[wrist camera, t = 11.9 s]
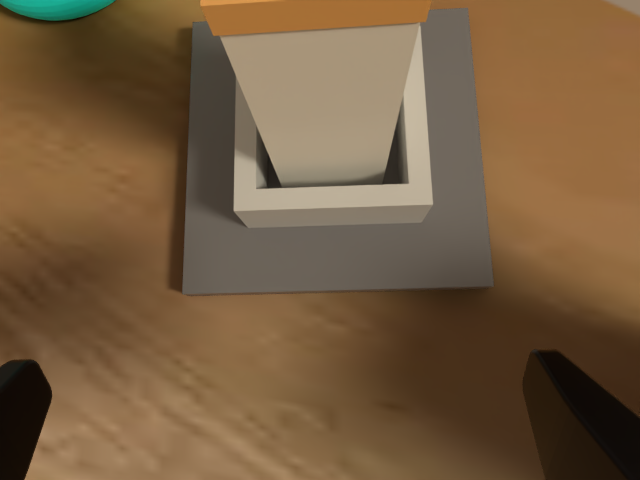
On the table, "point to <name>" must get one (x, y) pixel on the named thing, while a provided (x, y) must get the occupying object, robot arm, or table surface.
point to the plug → (321, 80)
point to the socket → (340, 188)
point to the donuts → (55, 8)
